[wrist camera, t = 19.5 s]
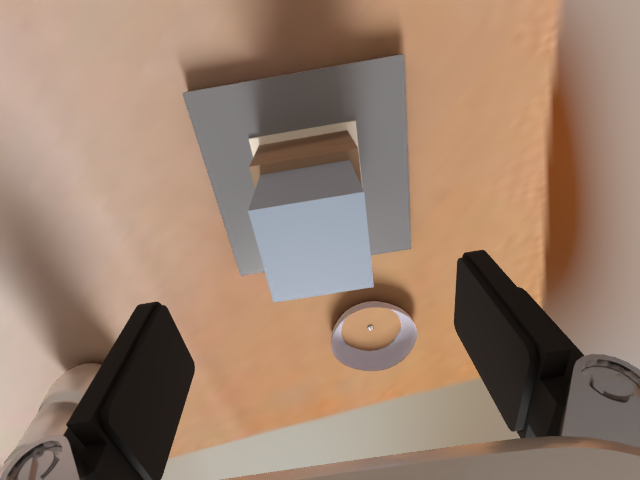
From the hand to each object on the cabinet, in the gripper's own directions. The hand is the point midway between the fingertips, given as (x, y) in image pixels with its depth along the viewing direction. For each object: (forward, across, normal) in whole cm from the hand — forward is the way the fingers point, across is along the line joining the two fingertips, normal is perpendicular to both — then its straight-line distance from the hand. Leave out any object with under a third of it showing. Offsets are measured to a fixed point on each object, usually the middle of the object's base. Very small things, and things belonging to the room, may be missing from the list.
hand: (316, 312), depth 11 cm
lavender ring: (+16, -3, +17) cm, 24 cm away
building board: (+16, 0, +1) cm, 16 cm away
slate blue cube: (+10, 0, +1) cm, 10 cm away
